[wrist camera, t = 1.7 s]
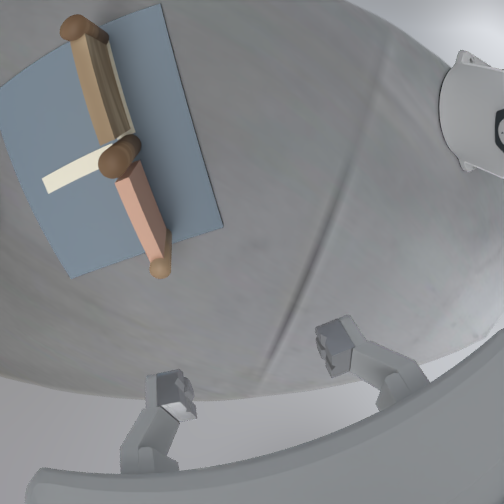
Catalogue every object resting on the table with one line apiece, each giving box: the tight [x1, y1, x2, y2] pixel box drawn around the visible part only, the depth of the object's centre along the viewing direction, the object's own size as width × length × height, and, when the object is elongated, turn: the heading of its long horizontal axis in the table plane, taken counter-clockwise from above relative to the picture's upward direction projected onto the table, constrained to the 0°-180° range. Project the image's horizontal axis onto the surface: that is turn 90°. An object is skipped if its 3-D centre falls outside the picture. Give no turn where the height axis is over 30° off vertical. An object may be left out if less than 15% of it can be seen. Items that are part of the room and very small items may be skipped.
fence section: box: [115, 160, 172, 279], centre depth 23 cm, size 2×9×6 cm, turn 12°
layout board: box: [0, 4, 223, 279], centre depth 22 cm, size 19×24×1 cm
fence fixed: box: [60, 14, 141, 179], centre depth 16 cm, size 2×13×7 cm, turn 13°
